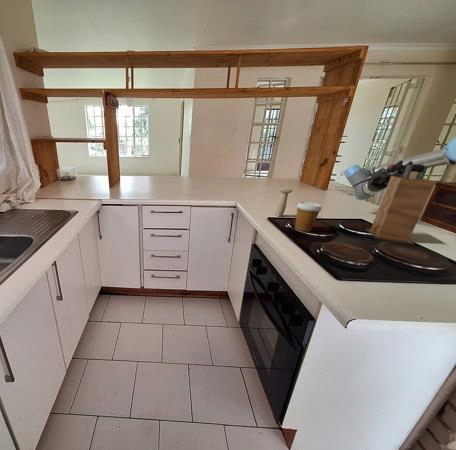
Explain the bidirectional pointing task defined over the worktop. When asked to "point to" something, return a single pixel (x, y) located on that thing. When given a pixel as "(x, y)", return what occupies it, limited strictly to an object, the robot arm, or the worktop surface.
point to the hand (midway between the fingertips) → (406, 164)
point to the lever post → (401, 206)
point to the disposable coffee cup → (306, 215)
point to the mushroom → (282, 201)
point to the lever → (415, 168)
